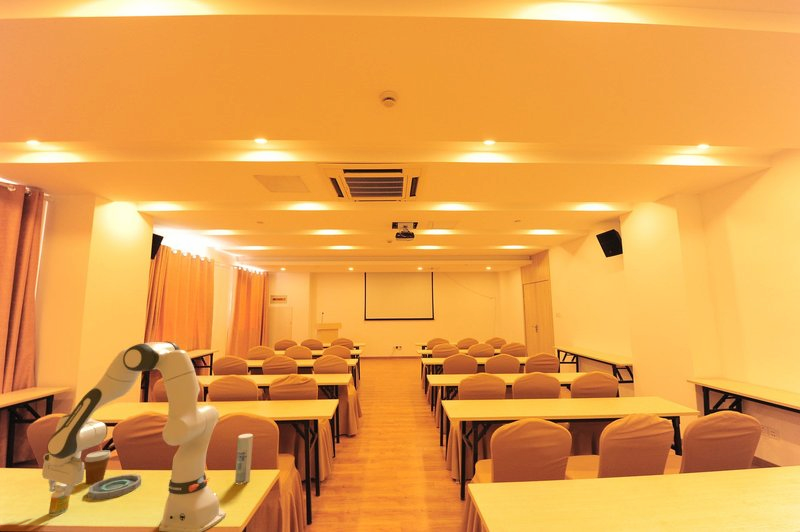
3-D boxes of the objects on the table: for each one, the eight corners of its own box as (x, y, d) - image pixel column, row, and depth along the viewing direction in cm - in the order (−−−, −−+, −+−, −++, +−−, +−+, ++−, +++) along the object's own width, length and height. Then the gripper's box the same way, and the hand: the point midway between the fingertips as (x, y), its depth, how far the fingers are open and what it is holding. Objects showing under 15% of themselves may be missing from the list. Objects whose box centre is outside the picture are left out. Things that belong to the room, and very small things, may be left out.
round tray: (149, 483, 157) (150, 477, 157) (105, 502, 140) (106, 496, 140) (123, 477, 163) (124, 472, 163) (78, 495, 146) (78, 489, 146)
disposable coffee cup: (75, 486, 154) (79, 458, 156) (89, 477, 163) (93, 450, 165) (99, 484, 156) (103, 456, 158) (112, 475, 165) (115, 449, 167)
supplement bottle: (55, 516, 130) (59, 489, 131) (44, 515, 131) (48, 487, 132) (71, 509, 135) (75, 482, 137) (60, 508, 136) (64, 481, 138)
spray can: (231, 483, 157) (235, 437, 160) (241, 477, 163) (245, 433, 166) (243, 485, 155) (246, 438, 158) (253, 479, 161) (256, 434, 164)
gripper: (91, 456, 136) (86, 494, 133) (61, 449, 143) (55, 485, 140) (72, 462, 130) (66, 502, 128) (41, 454, 137) (34, 492, 134)
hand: (60, 493), depth 134 cm, fingers open, 8 cm apart
